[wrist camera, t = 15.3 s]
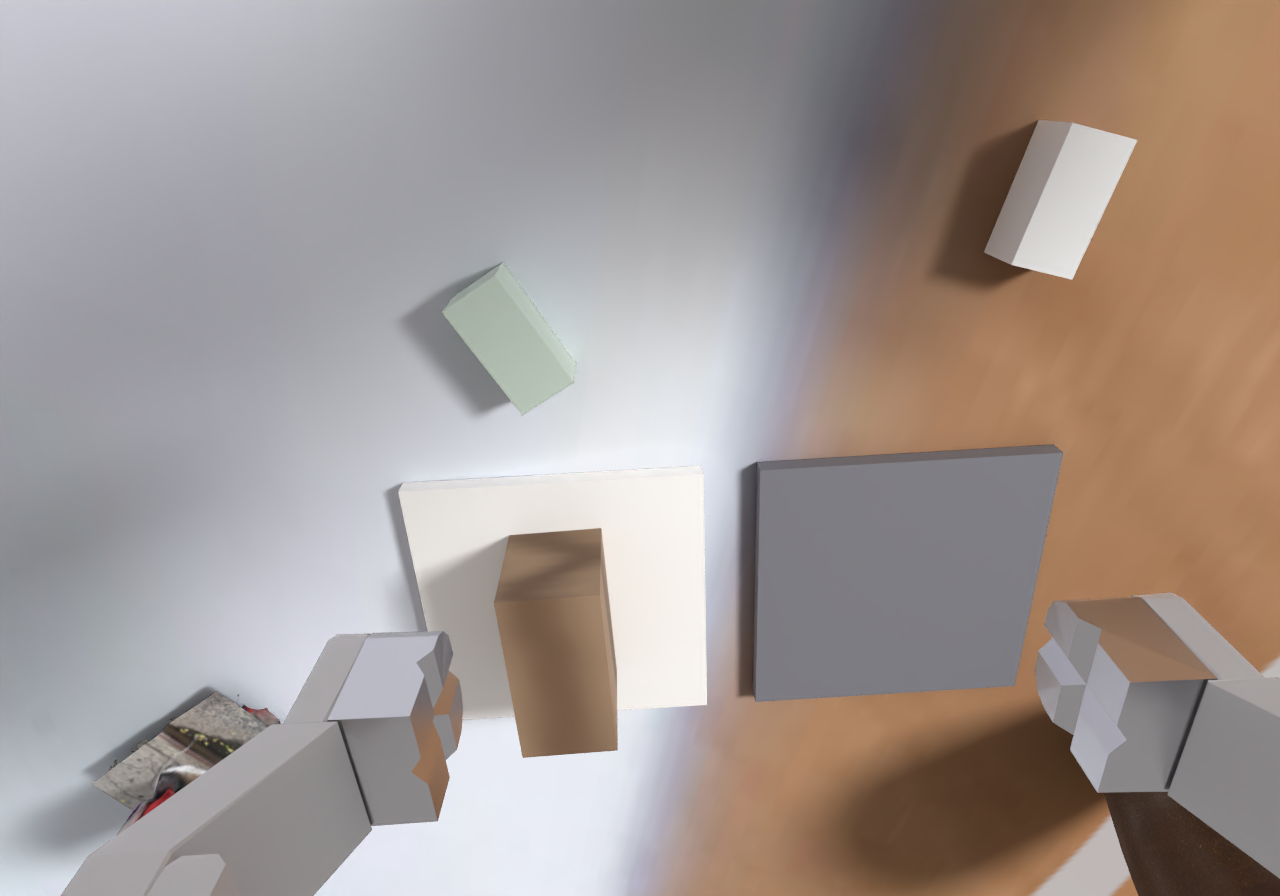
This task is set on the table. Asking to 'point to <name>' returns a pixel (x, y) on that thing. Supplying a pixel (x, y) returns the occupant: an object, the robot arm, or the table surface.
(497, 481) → the off-white mat
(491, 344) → the sage brick
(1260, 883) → the plant pot
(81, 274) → the table surface
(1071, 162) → the pale grey brick
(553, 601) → the walnut brick
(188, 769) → the statue
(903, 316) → the table surface
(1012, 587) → the charcoal mat
